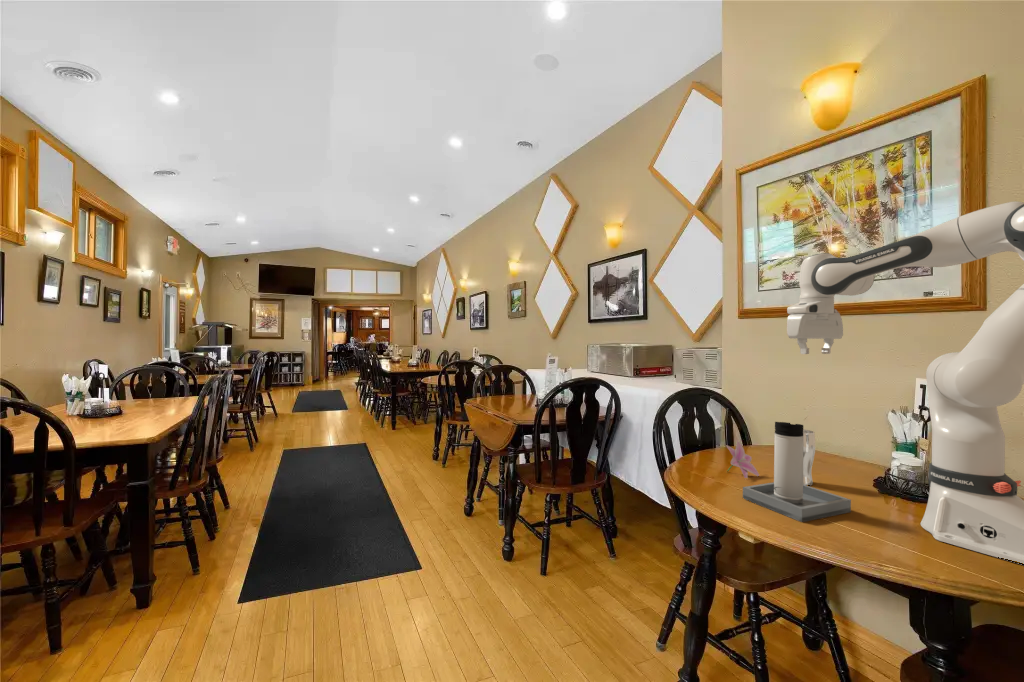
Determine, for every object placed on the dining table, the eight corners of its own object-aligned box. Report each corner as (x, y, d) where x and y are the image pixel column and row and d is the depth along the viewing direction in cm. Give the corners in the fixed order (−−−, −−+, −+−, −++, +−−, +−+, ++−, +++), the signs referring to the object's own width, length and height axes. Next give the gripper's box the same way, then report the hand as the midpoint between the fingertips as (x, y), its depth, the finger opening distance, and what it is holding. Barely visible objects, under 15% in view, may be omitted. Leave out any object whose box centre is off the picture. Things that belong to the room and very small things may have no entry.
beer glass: (820, 486, 128) (821, 433, 128) (795, 486, 128) (796, 433, 128) (804, 478, 135) (805, 428, 135) (781, 478, 135) (782, 428, 135)
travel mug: (770, 500, 114) (771, 421, 114) (777, 493, 119) (778, 417, 119) (799, 506, 110) (799, 424, 110) (805, 500, 115) (806, 421, 114)
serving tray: (850, 512, 110) (850, 499, 109) (801, 522, 103) (801, 509, 103) (788, 490, 124) (788, 479, 124) (742, 498, 118) (742, 487, 118)
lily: (723, 483, 134) (741, 458, 130) (705, 458, 144) (721, 434, 141) (756, 493, 136) (775, 469, 133) (736, 467, 147) (752, 444, 144)
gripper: (828, 309, 144) (828, 353, 145) (782, 307, 137) (782, 353, 137) (849, 308, 138) (848, 354, 139) (803, 306, 131) (802, 354, 131)
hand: (815, 353), depth 138 cm, fingers open, 8 cm apart
